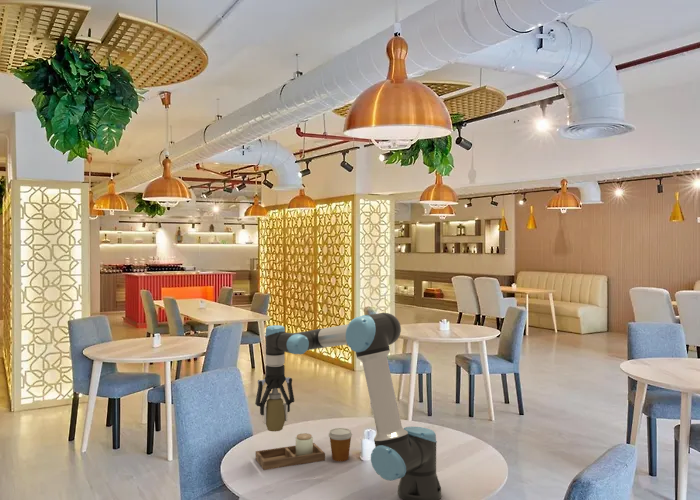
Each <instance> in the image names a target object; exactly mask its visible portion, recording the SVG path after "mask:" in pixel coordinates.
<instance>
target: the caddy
mask: <svg viewBox="0 0 700 500" xmlns="http://www.w3.org/2000/svg"><path fill="white" fill-rule="evenodd" d="M255 460H256V461H257V463H258V464H259V465H260V467H261V468H262V469H263V471H266V470H273V469H279V468H280V469H281V468H285V467H286V468H287V467H292V466H300V465H304V464H305V465H306V464H311V463H318V462H324V461H325V460H326V453H325V451H324V450H322V449H321V448H320V447H319V446H318V445H317V444H316V443H315V442H313V454H308V455H302V456H296V445H290V446H289V445H288V446H284V447H283V446H282V447H275V448H269V449H263V450H256V451H255Z"/></svg>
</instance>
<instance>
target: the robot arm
mask: <svg viewBox="0 0 700 500" xmlns="http://www.w3.org/2000/svg"><path fill="white" fill-rule="evenodd" d="M285 329H286V328H285V326H284V325H279V324H278V325H277V324H276V325H275V324H274V325H273V324H272V325H268V326H266V328H265V336H264V337H265V364H266V365H265V377H264V379H261V380H260V379H258V380H257V391H256V392H257V393H256V396H255V398H256V399H255V402H254V403H255V405H256V406H257V407H259V415H260V416H262V419H261V420H262V424H263V425H266V404H267V400H268V399H269V394H270V393H271V392H272V390H273V389H274V388H277V389H278V390H279V391H280V393H281V396H282V397H283V401H284V402H285V403H284V402H283V403H284V413H285V422H288V420H289V419H288V413H290V412H291V404H292V403H294V402H295V396H294V390H293V385H292V383H293V378H291V377H290V376H287V377H286V376H285V374H286V373H285V369H286V368H285V367H286V366H285V365H284V364H285V361H286V360H285V359H286V358H285V357H286V355H285V353H289V354H293V355H304V354H305V353H306V352H307V351H311V350H317V349H324V348H330V347H337V346H344V345H347V346H348V347H349V348H350V350H351V351H353V352H355V354H356V359H358V360H360V361H361V362H362V368H363V372H364V377H365V380H366V381H365V382H366V386H367V391H368V395H369V400H370V406H371V410H372V415H373V420H374V424H375V425H374V426H375V429H376V435H375V436H374V438H373V442H374V448H373V449H372V451H371V454H370V463H371V465H372V468H373V470H374V471H375V473H376V474H377V475H379V476H380V477H381V478H382V479H383V480H385V481H396V480H399V479H400V480H399V483H398V485H397V496H398V498H400V499H401V500H440V499H441V498H442V487H441V484H440V481H439V478H438V475H437V443H438V441H437V433H436V432H435V431H434V430H432V429H430V428H426V427H422V426H406V427H404V428H403V425H402V421H401V416H400V411H399V407H398V406H399V405H398V402H397V397H396V394H395V393H396V391H395V387H394V384H393V378H392V374H391V371H390V370H391V369H390V365H389V361H388V355H389V354H390V352H391V350H390V349H391V348H390V345H391V346H392V344H395V342H396V341H398V339H399V338H400V336H401V332H402V327H401V323H400V321H399V319H398V318H397V316H395V315H393V314H392V313H389V312H380V313H372V314H364V315H360V316H355V318H353V319H351V320H350V322H349V323H348V324H343V325H342V324H341V325H337V326H331V327H325V328H316V329H313V330H312V329H311V330H306V331H301V332H300V331H299V332H298V331H297V332H294V333H293V332H286V330H285ZM285 382H286V386H287V391H288V395H287V392H286V390H285V387H284V383H285ZM265 384H266V387H265V390H264V392H263V389H264V387H263V386H264V385H265ZM262 394H263V395H262Z"/></svg>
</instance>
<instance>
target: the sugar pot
mask: <svg viewBox="0 0 700 500" xmlns="http://www.w3.org/2000/svg"><path fill="white" fill-rule="evenodd" d="M313 443H314V437H313V435H312V434H311V433H307V432H306V433H305V432H304V433H299V434H297V435H296V437H295V446H296V456H302V455H308V454H313Z"/></svg>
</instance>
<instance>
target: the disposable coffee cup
mask: <svg viewBox="0 0 700 500" xmlns="http://www.w3.org/2000/svg"><path fill="white" fill-rule="evenodd" d="M328 437H329V444H330V449H331V450H330V451H331V458H332V460H333V461H335V462H346V461H348V460H349V457H350V448H351V439H352V437H353V433H352V431H351V429H348V428H345V427H336V428H331V429H330V430H329V433H328Z"/></svg>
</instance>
